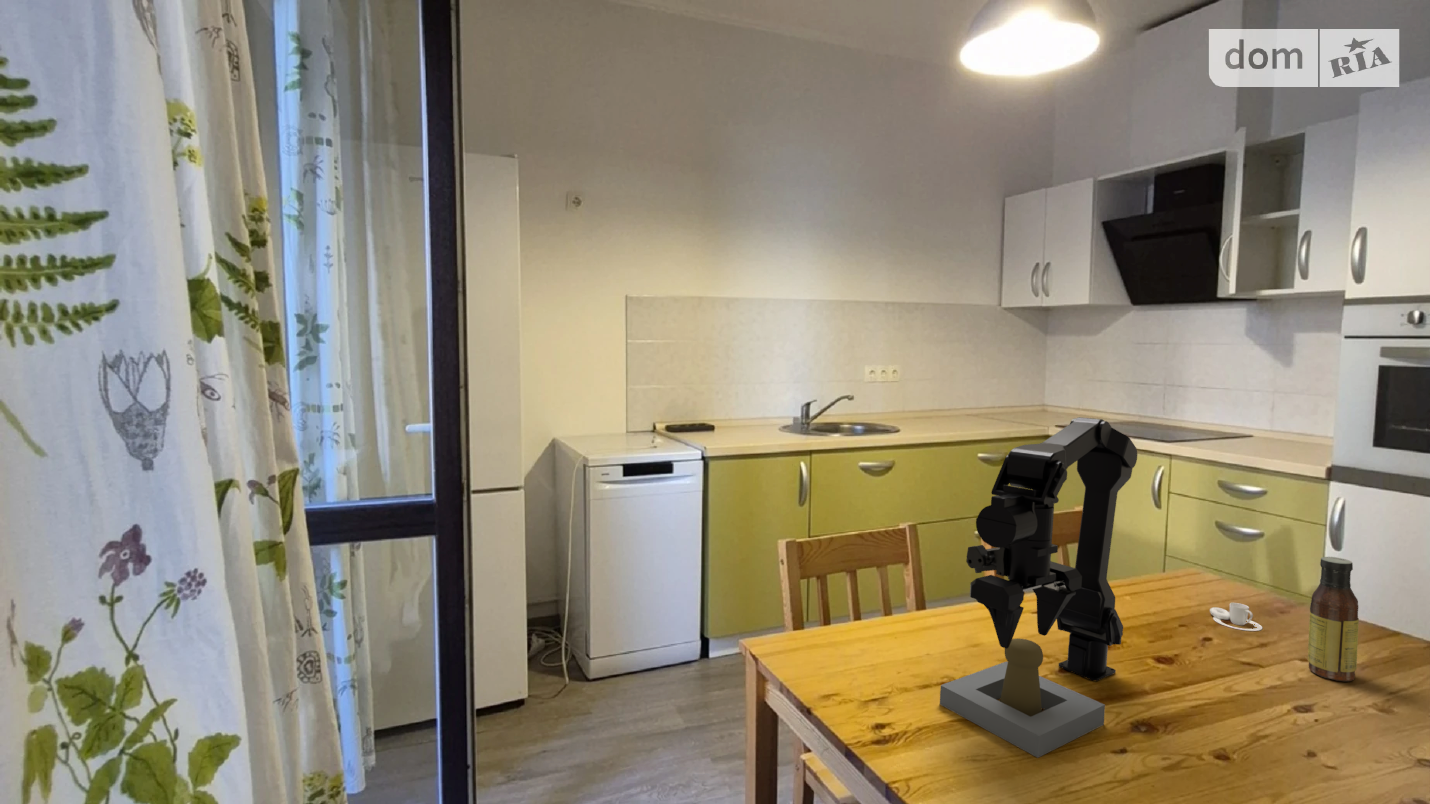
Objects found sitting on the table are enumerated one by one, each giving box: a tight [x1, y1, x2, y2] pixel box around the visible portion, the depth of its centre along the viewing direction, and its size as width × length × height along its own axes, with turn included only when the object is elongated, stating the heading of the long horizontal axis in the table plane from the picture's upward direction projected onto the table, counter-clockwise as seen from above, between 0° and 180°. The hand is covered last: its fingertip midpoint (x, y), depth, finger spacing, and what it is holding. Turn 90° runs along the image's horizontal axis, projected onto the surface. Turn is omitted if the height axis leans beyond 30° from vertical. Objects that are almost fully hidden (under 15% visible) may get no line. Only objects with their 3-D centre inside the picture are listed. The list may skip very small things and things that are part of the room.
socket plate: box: [939, 660, 1106, 759], centre depth 104 cm, size 16×16×3 cm
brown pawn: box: [999, 638, 1044, 717], centre depth 103 cm, size 6×6×11 cm
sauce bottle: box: [1307, 556, 1360, 683], centre depth 118 cm, size 7×6×20 cm
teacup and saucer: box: [1209, 602, 1263, 632], centre depth 142 cm, size 9×8×4 cm
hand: (1023, 640), depth 103 cm, fingers open, 9 cm apart
